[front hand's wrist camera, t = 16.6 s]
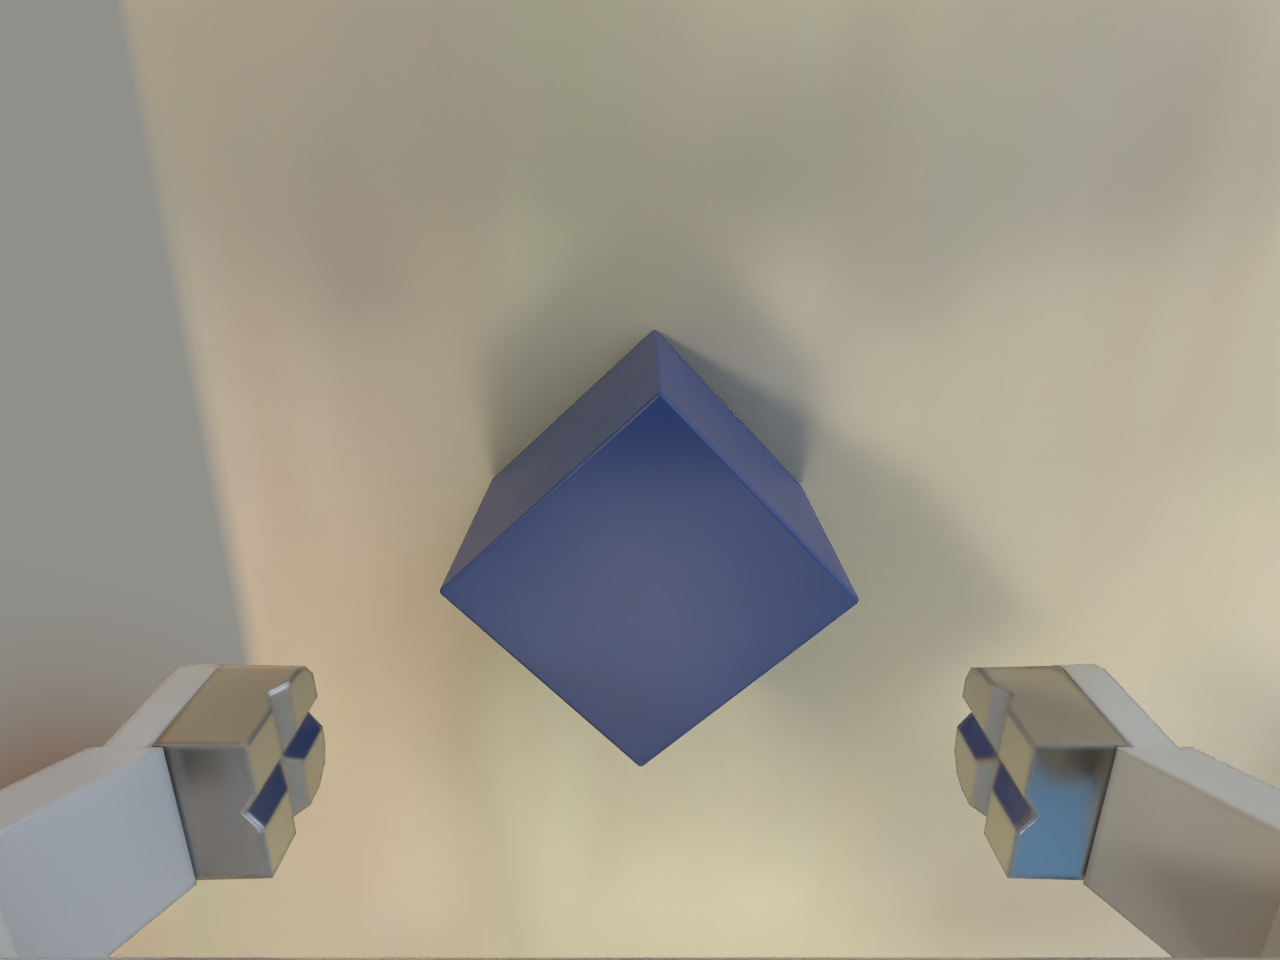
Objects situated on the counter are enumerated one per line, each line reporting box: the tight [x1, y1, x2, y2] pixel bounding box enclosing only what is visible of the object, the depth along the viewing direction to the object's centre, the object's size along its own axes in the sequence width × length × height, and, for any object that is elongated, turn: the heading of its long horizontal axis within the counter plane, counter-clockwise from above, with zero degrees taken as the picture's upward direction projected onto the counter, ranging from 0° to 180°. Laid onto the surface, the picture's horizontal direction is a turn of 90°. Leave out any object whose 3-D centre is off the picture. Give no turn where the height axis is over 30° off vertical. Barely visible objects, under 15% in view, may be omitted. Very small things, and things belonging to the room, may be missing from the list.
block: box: [440, 330, 858, 766], centre depth 15 cm, size 5×5×5 cm
